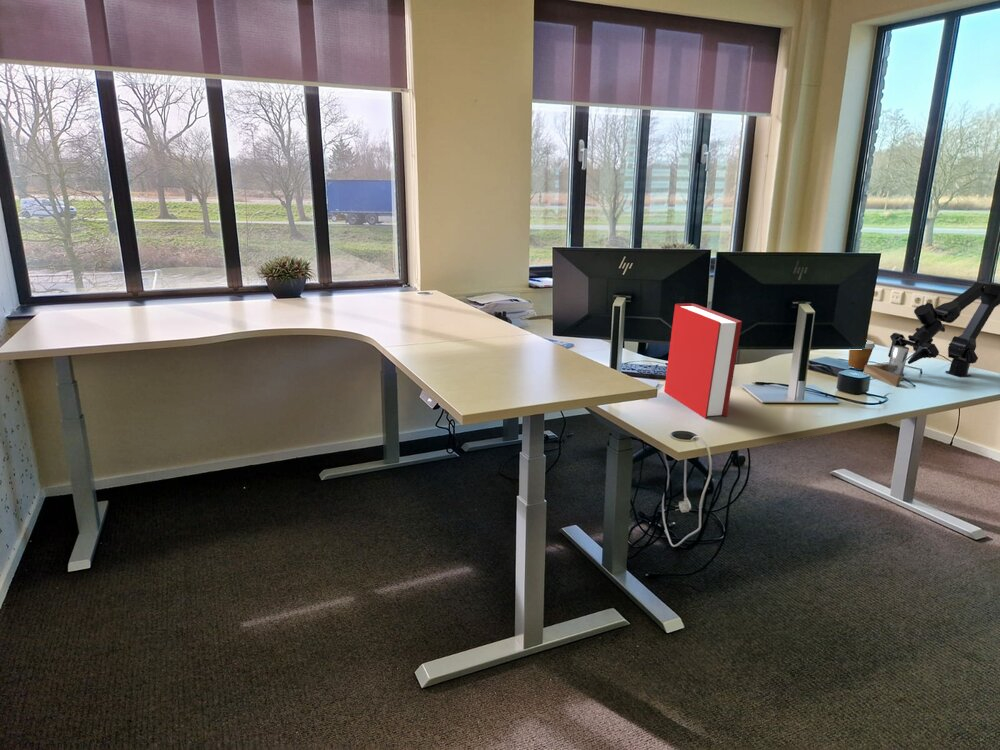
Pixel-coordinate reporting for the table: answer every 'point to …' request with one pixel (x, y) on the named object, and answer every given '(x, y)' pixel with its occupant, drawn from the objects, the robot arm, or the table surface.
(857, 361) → the disposable coffee cup
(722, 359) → the book
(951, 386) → the table surface
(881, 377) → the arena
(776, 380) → the table surface
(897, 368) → the silver metal can
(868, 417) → the table surface
